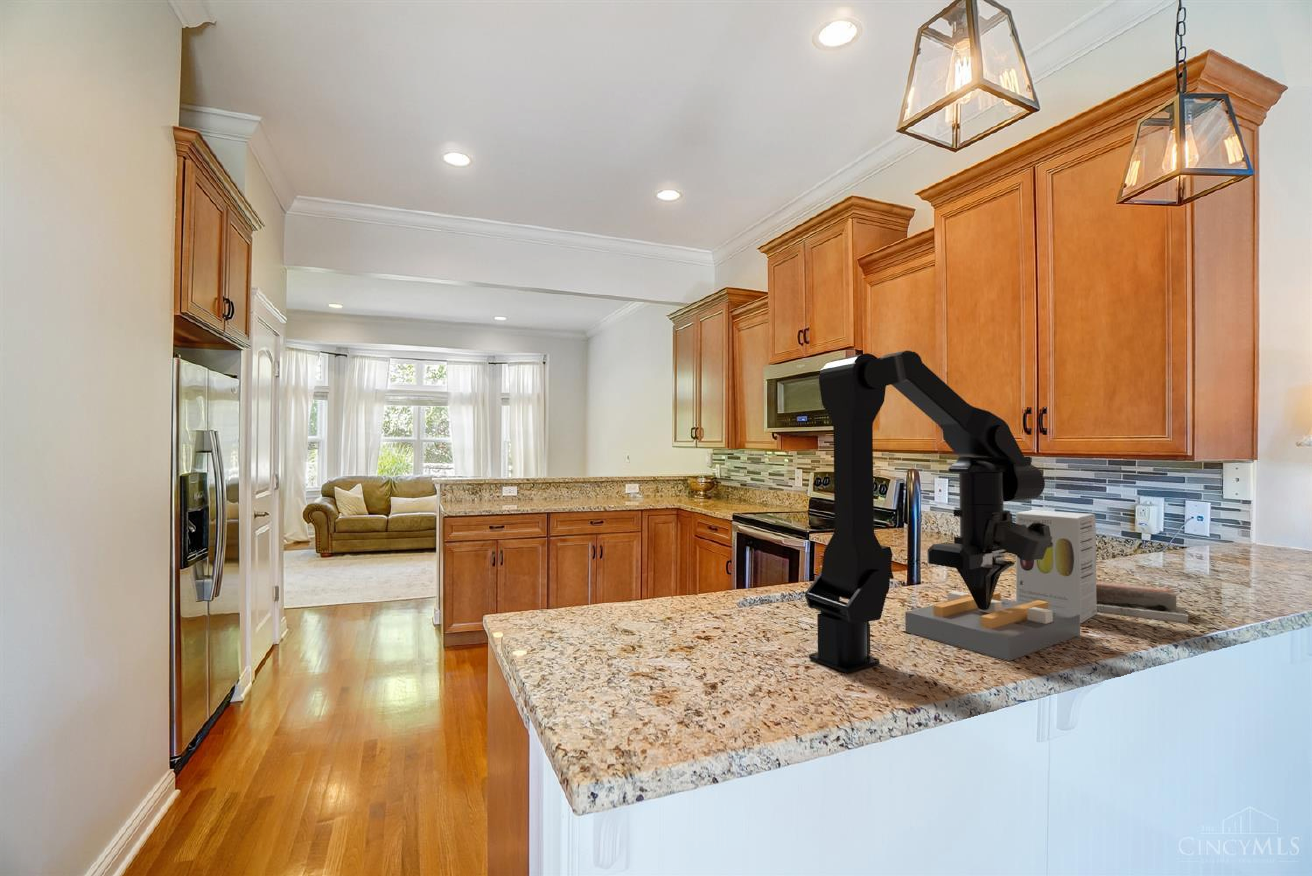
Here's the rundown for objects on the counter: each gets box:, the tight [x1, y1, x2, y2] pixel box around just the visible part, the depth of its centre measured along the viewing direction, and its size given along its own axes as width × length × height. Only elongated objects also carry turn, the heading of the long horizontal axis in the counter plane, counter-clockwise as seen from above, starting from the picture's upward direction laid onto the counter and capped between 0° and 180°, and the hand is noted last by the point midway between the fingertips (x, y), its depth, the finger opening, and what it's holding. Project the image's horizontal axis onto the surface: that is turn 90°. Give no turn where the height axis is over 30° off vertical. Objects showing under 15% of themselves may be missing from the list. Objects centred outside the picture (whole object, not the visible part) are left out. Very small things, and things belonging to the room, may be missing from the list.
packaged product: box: [1096, 580, 1189, 624], centre depth 102 cm, size 18×5×10 cm
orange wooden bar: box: [932, 591, 1002, 617], centre depth 91 cm, size 16×1×1 cm, turn 122°
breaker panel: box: [904, 590, 1081, 662], centre depth 88 cm, size 20×15×5 cm
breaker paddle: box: [978, 600, 1002, 613], centre depth 88 cm, size 2×2×2 cm
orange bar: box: [981, 600, 1048, 629], centre depth 85 cm, size 16×1×1 cm, turn 122°
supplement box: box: [1015, 509, 1098, 624], centre depth 99 cm, size 10×9×17 cm
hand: (983, 609), depth 87 cm, fingers closed
